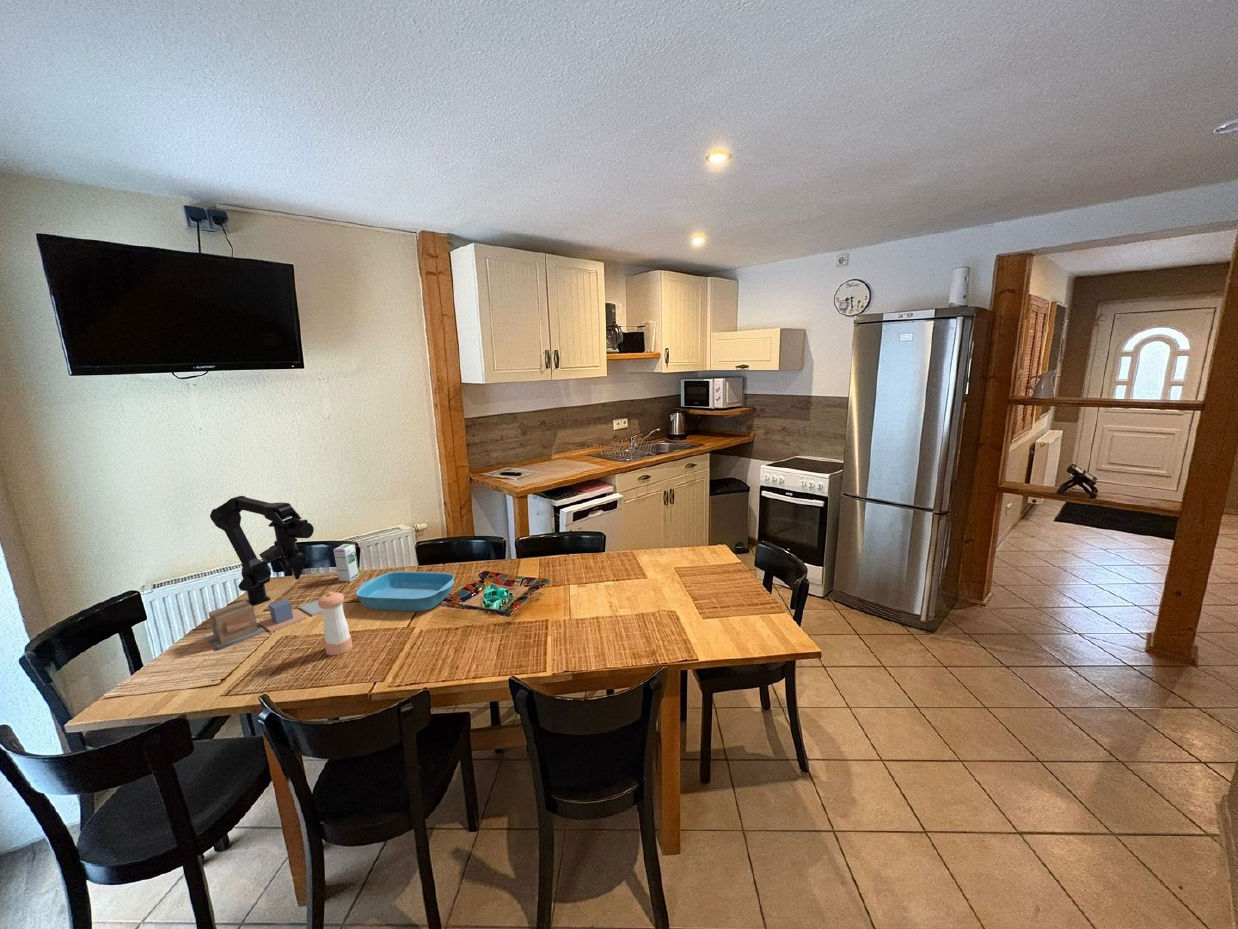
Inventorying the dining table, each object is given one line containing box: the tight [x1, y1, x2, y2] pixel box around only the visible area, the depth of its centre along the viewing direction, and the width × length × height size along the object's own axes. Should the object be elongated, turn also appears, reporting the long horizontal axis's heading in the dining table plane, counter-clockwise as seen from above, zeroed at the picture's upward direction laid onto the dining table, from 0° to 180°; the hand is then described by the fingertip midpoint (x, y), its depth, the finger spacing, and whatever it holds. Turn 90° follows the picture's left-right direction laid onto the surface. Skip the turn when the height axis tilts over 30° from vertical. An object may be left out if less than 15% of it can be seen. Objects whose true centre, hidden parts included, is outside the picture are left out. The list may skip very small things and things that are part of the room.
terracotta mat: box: [258, 608, 307, 633], centre depth 175 cm, size 11×11×1 cm
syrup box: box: [332, 543, 361, 582], centre depth 208 cm, size 6×6×14 cm
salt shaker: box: [318, 591, 353, 656], centre depth 154 cm, size 7×7×19 cm
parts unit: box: [207, 599, 266, 651], centre depth 165 cm, size 11×13×10 cm
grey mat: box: [299, 599, 344, 617], centre depth 185 cm, size 11×11×1 cm
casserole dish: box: [355, 570, 456, 612], centre depth 186 cm, size 37×22×7 cm, turn 79°
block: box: [268, 599, 293, 624], centre depth 175 cm, size 5×5×6 cm
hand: (292, 576), depth 186 cm, fingers open, 9 cm apart
